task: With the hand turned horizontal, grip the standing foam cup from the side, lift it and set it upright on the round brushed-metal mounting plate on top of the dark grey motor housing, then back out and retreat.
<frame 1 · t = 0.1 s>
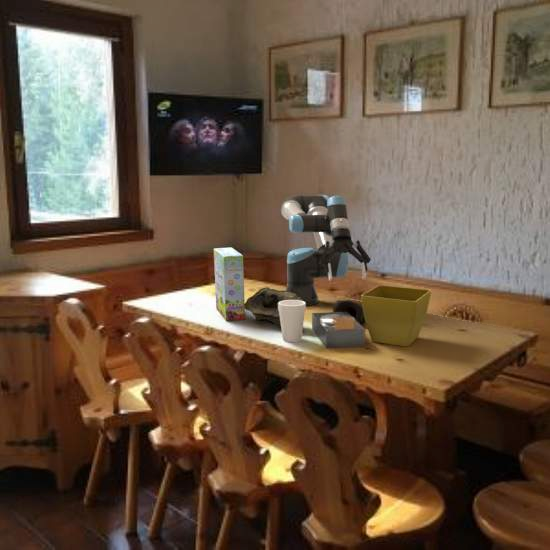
hand: (347, 279, 239), 15 cm above the table, tool tilted 35°, fingers open, 13 cm apart
snack box: (229, 314, 248), on the table
flower pot: (395, 340, 212), on the table
pipe: (349, 321, 237), on the table
motor housing: (337, 337, 215), on the table
moss-covered rock: (275, 324, 233), on the table
foam cup: (291, 340, 213), on the table
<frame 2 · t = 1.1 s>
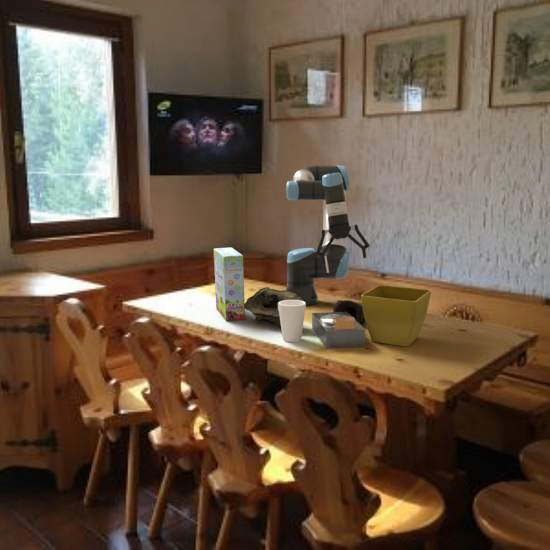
hand: (345, 269, 234), 20 cm above the table, tool pointing down, fingers open, 13 cm apart
nothing on the table moved.
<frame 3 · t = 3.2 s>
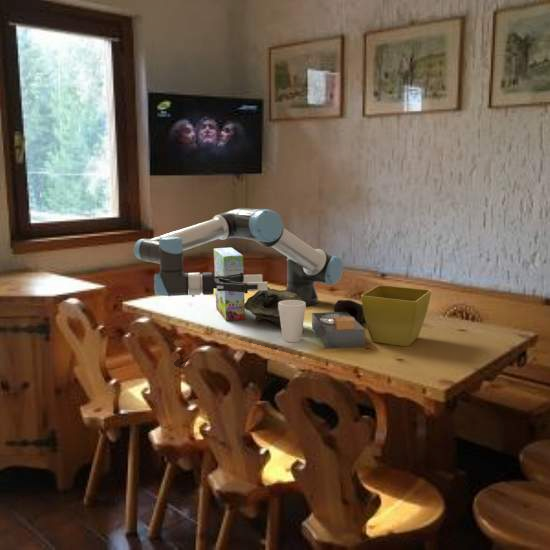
hand: (264, 282, 208), 21 cm above the table, tool horizontal, fingers open, 13 cm apart
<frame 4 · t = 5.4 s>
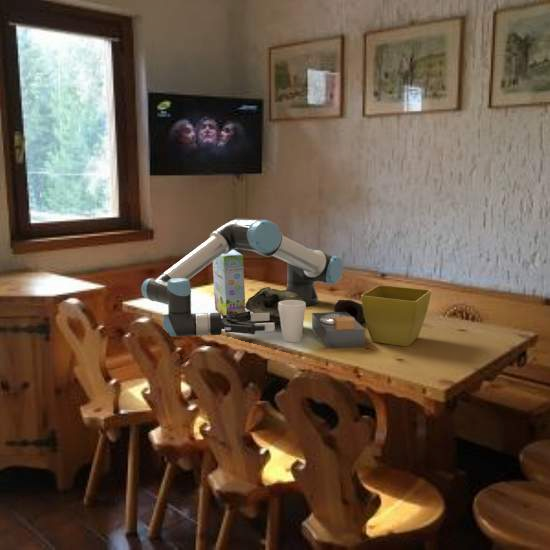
hand: (271, 321, 210), 7 cm above the table, tool horizontal, fingers open, 13 cm apart
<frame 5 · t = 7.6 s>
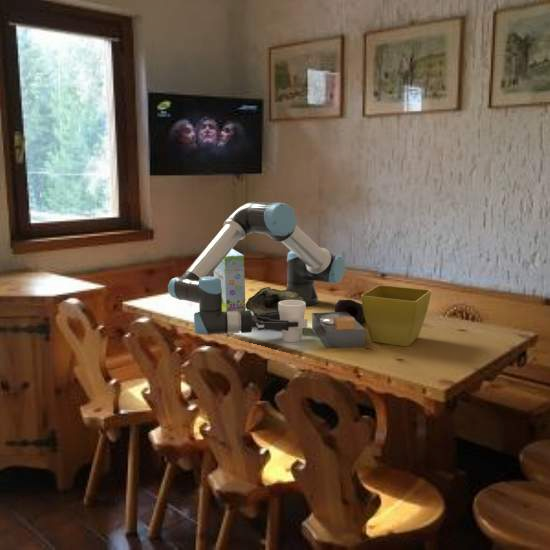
hand: (304, 319, 212), 7 cm above the table, tool horizontal, fingers closed on foam cup, 9 cm apart
foam cup: (291, 339, 213), on the table, touching gripper
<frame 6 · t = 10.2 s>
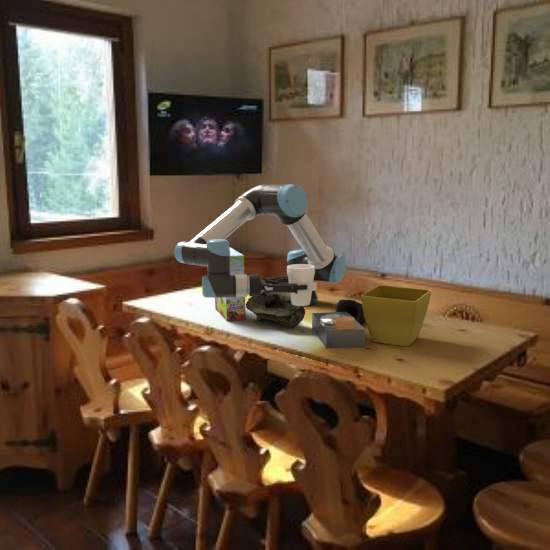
hand: (313, 283, 209), 20 cm above the table, tool horizontal, fingers closed on foam cup, 9 cm apart
foam cup: (300, 304, 210), point 12 cm above the table, touching gripper
when the fingers open (15 cm above the table, at t = 12.7 s): foam cup drops 1 cm, resting on motor housing.
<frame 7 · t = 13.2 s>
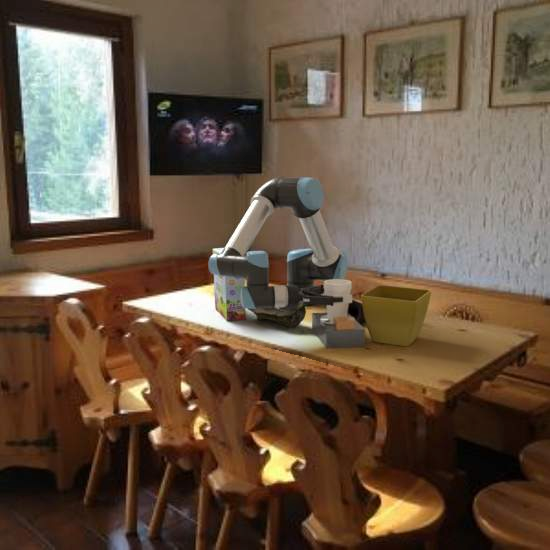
hand: (346, 294, 212), 15 cm above the table, tool horizontal, fingers open, 13 cm apart
foam cup: (337, 319, 214), point 7 cm above the table, touching motor housing
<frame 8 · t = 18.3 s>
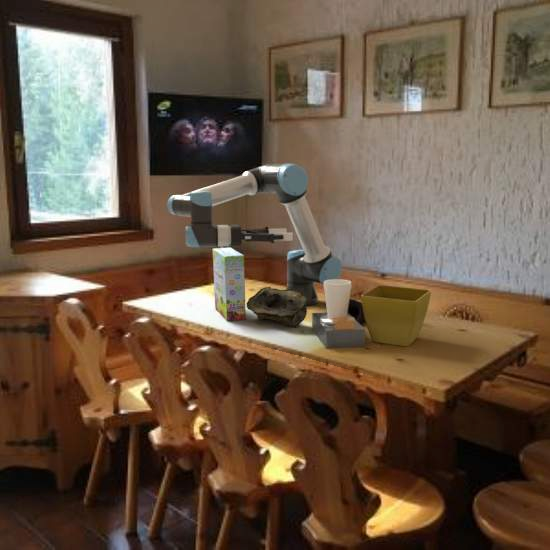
hand: (289, 234, 219), 35 cm above the table, tool horizontal, fingers open, 13 cm apart
at the end: foam cup inside the target area on the motor housing (0.1 cm from its centre), point 6.6 cm above the motor housing's base; foam cup tilted 0°; the gripper is holding nothing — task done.
